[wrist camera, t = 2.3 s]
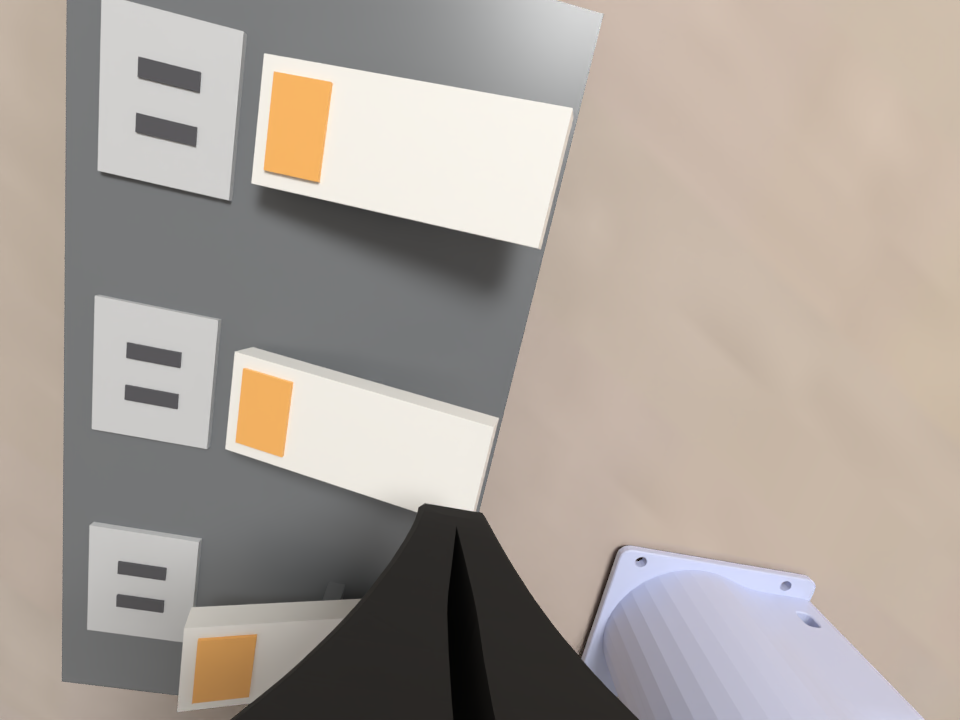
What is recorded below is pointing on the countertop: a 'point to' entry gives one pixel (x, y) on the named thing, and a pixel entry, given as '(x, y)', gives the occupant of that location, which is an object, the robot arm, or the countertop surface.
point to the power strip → (257, 301)
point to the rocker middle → (357, 432)
